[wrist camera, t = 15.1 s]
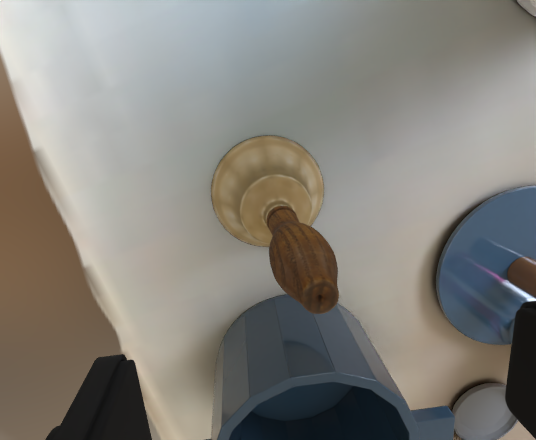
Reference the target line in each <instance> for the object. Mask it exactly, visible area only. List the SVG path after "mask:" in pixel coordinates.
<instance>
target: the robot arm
mask: <svg viewBox="0 0 536 440" xmlns="http://www.w3.org/2000/svg"><path fill="white" fill-rule="evenodd" d="M517 2H518V3H519V4H520V5H521V6H522V7H523V8H524V9H525V10H527V11H528V12H529V13H530V14H531V15H533V16H535V17H536V0H517ZM505 401H506V404H507V407H508V408H509V410H510V412H511V413H512V414H513V415H514V416H515V417H516V418H517V420H518V421H519V422H520V423H521V424H522V425H523V426H524V427H525V428H526V429H527V430H528V431H529V432H530V433H531V435H532V436H533V437H534V438H535V439H536V301H529V302H525V303H523V304H522V305H521V307H520V309H519V310H518V311H517V312H516V315H515V323H514V331H513V338H512V346H511V354H510V361H509V369H508V377H507V385H506V392H505ZM46 440H152V438H151V433H150V429H149V424H148V420H147V415H146V411H145V406H144V402H143V397H142V393H141V388H140V384H139V379H138V375H137V370H136V366H135V362H134V361H133V360H127V359H126V357H125V355H123V354H121V355H114V356H106V357H99V358H97V359H96V360H95V361H94V363H93V365H92V367H91V369H90V371H89V373H88V375H87V377H86V378H85V380H84V382H83V384H82V386H81V388H80V390H79V392H78V393H77V395H76V397H75V399H74V401H73V403H72V404H71V406H70V408H69V410H68V412H67V414H66V416H65V418H64V419H63V421H62V423H61V425H60V426H57V427H55V428H54V429H53V430H52V431H51V432H50V433H49V435H48V436H47V438H46Z"/></svg>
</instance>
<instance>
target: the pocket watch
mask: <svg viewBox="0 0 536 440" xmlns="http://www.w3.org/2000/svg"><path fill="white" fill-rule="evenodd" d="M505 392H506V385H503V384H498V383H485V384H482V385H478V386H476V387H474V388H472V389H470V390H468V391H467V392H466V393H464V394H463V395H462V396H461V397H460V398H459V399H458V400H457V402H456V403H455V405H454V407H453V410H452V413H453V414H454V416H455V425H454V431H455V432H456V434H457V435H458V436H459V437H460V438H461V440H497V439H499V438H501V437H503V436H504V435H506V434H507V433H508V432H509V431H510V430H512V429H513V427H514V426H515V425H516V423H517V422H518V420H517V418H516V417H515V416H514V415H513V414H512V413H511V412H510V410H509V408H508V407H507V404H506V401H505Z"/></svg>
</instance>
